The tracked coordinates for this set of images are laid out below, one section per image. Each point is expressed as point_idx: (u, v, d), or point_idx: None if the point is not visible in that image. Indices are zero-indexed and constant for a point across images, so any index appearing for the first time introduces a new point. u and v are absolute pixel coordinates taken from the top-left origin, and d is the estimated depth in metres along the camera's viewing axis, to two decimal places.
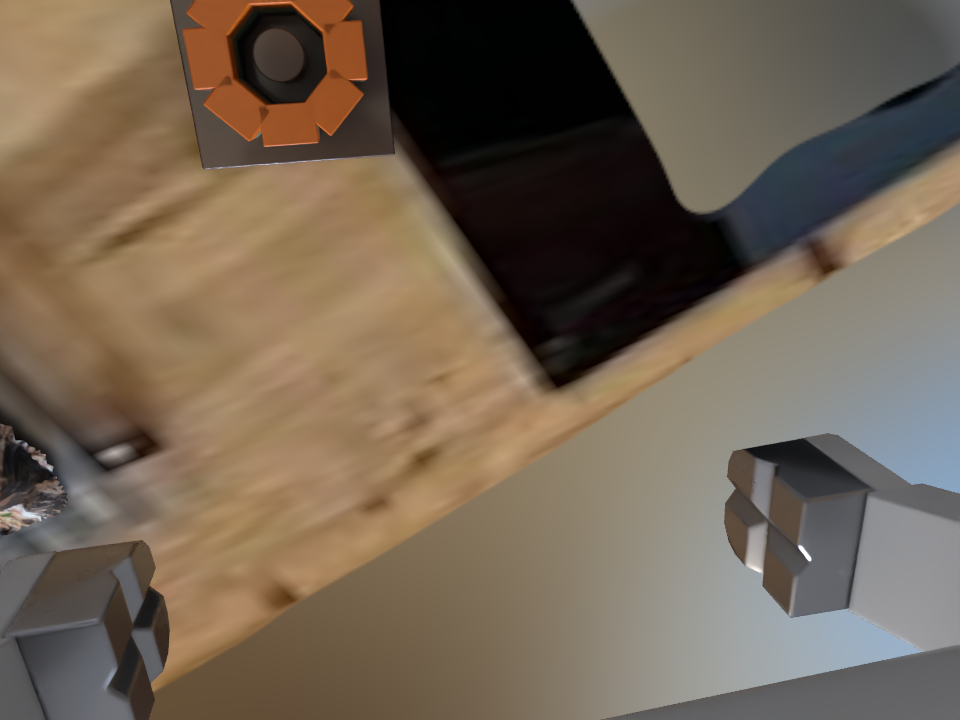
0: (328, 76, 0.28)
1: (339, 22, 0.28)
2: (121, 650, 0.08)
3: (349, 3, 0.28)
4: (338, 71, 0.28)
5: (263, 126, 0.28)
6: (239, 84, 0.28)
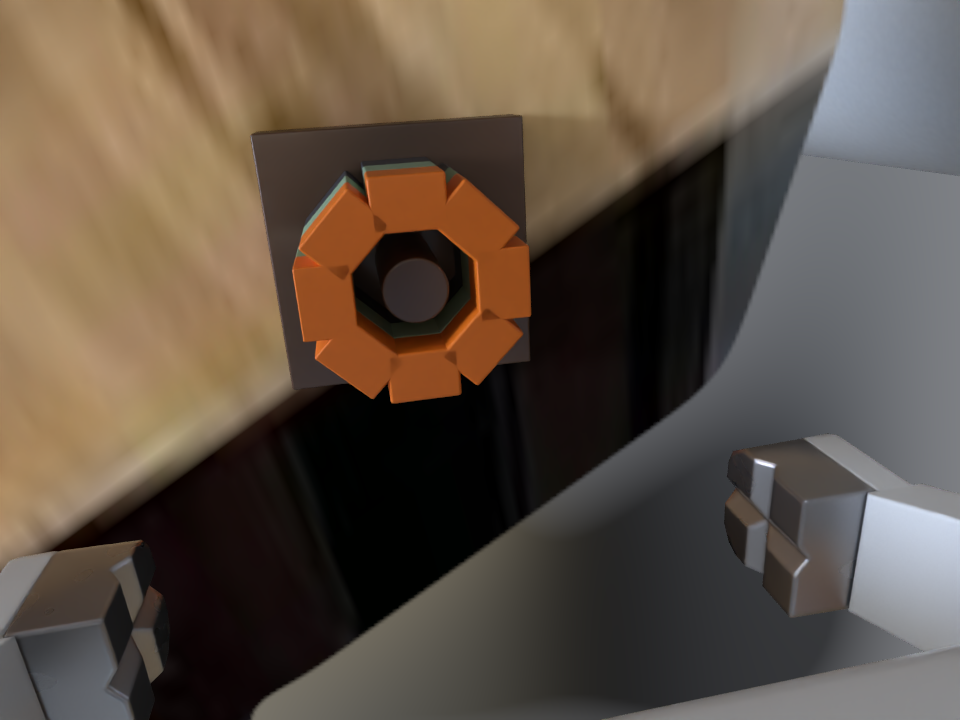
0: (392, 356, 0.21)
1: (458, 369, 0.22)
2: (121, 650, 0.08)
3: (480, 380, 0.22)
4: (400, 368, 0.21)
5: (321, 270, 0.20)
6: (376, 241, 0.20)
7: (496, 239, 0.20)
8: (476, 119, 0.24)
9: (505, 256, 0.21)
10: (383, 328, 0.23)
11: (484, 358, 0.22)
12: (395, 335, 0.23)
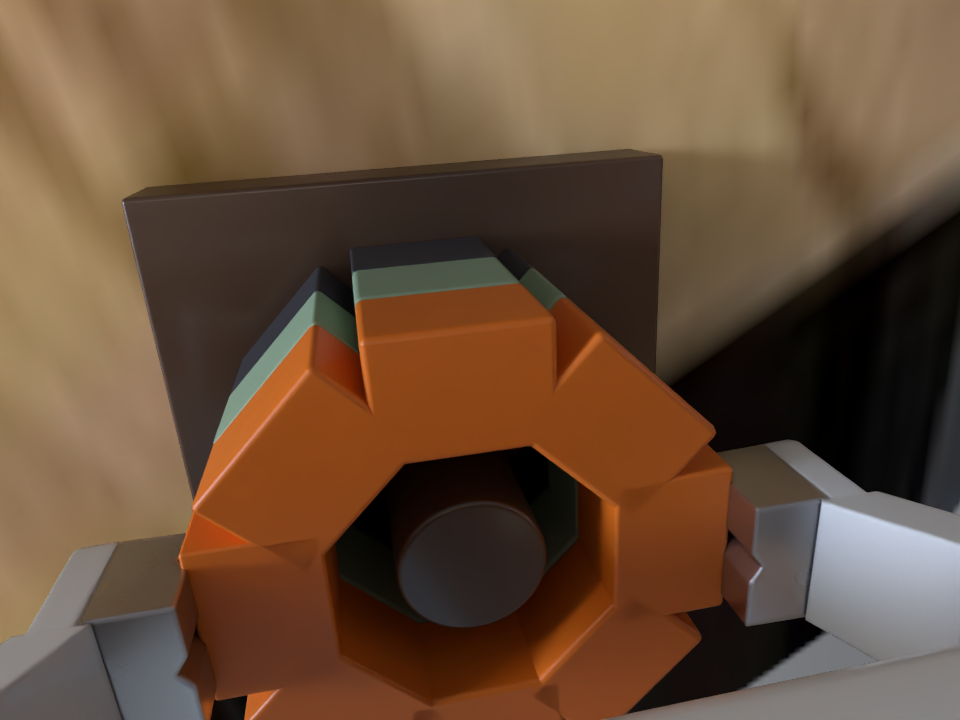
0: (421, 708, 0.09)
1: (561, 715, 0.10)
2: (190, 638, 0.08)
3: None
4: None
5: (250, 554, 0.08)
6: (385, 481, 0.08)
7: (664, 460, 0.09)
8: (576, 163, 0.12)
9: (680, 492, 0.09)
10: (396, 601, 0.11)
11: (617, 690, 0.10)
12: None
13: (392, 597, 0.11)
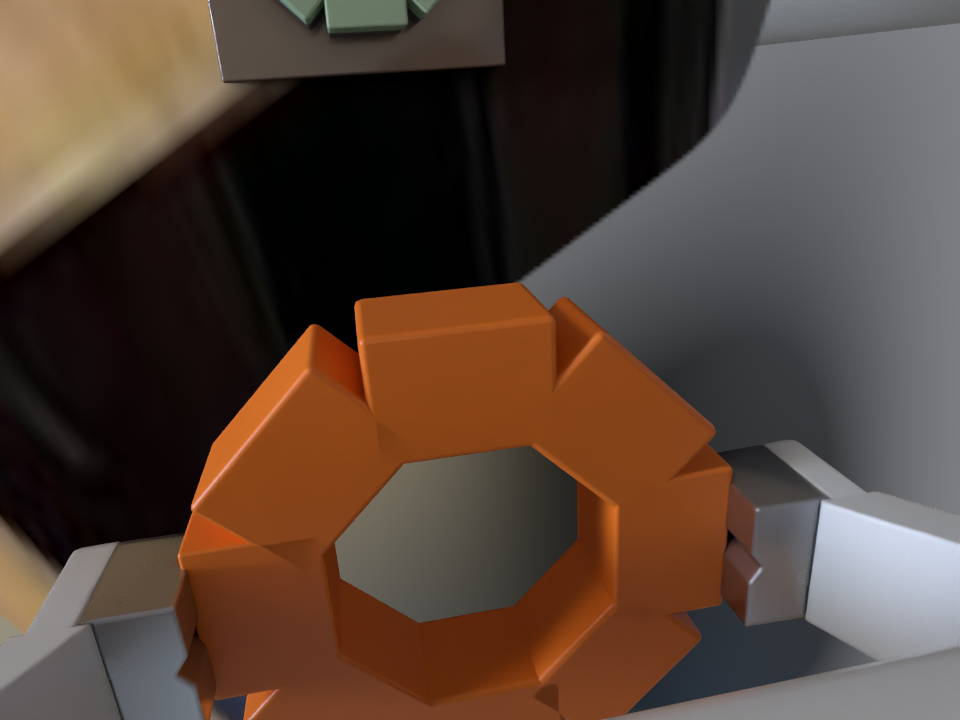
0: (420, 707, 0.09)
1: (560, 715, 0.10)
2: (190, 638, 0.08)
3: None
4: None
5: (249, 553, 0.08)
6: (384, 481, 0.08)
7: (664, 459, 0.09)
8: None
9: (680, 493, 0.09)
10: None
11: (617, 691, 0.10)
12: None
13: None
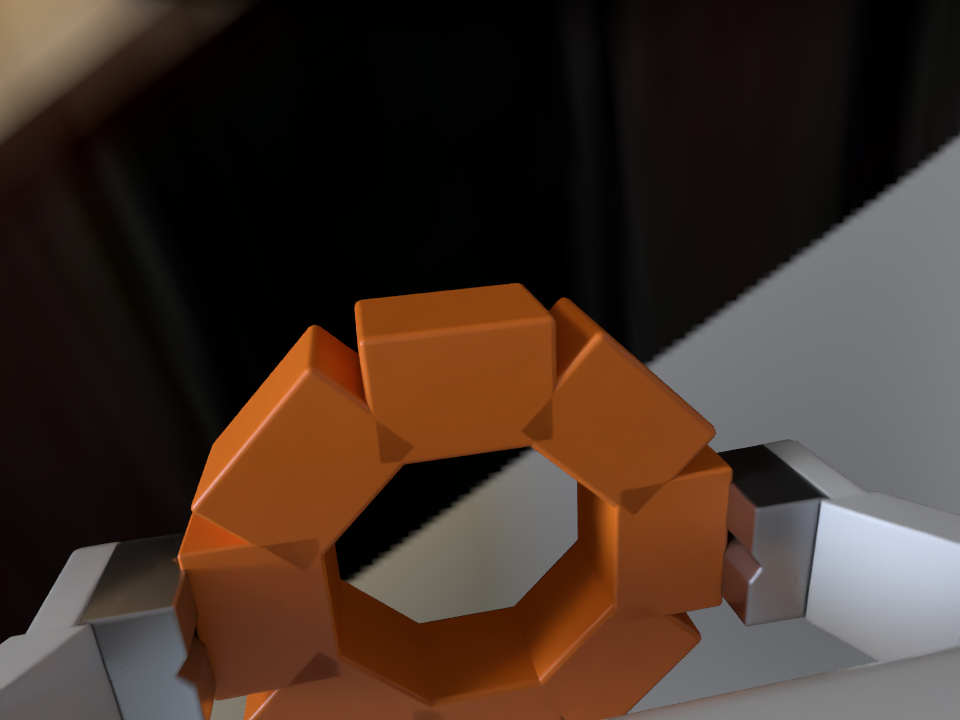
0: (420, 708, 0.09)
1: (560, 715, 0.10)
2: (190, 638, 0.08)
3: None
4: None
5: (249, 554, 0.08)
6: (384, 481, 0.08)
7: (664, 460, 0.09)
8: None
9: (680, 493, 0.09)
10: None
11: (617, 691, 0.10)
12: None
13: None
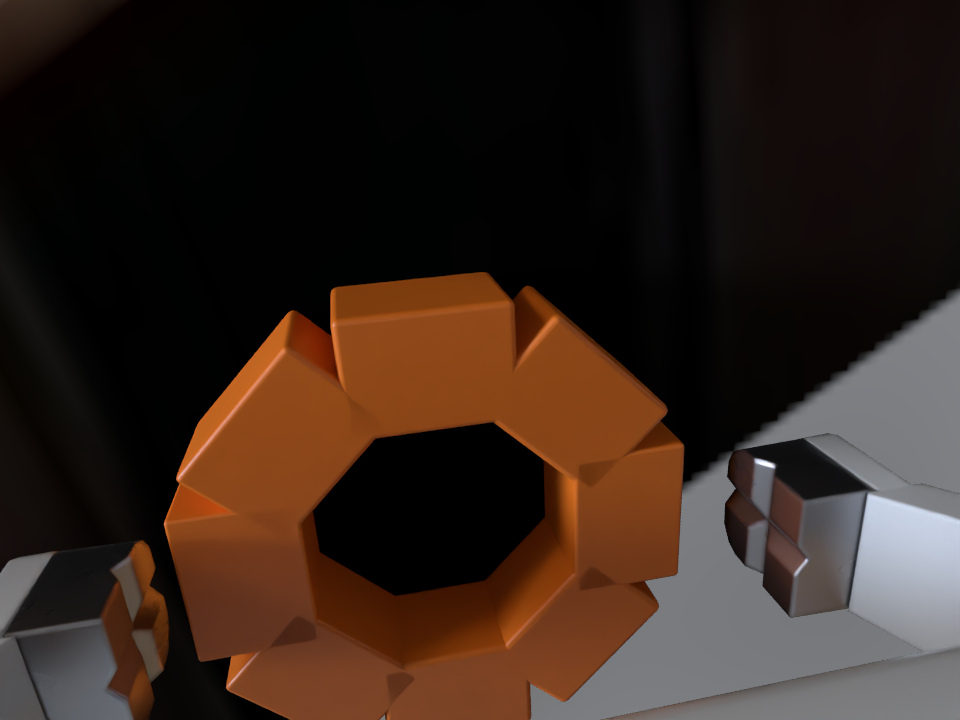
0: (393, 671, 0.10)
1: (527, 679, 0.11)
2: (121, 650, 0.08)
3: (569, 695, 0.11)
4: (408, 689, 0.10)
5: (231, 522, 0.09)
6: (357, 454, 0.09)
7: (619, 436, 0.09)
8: None
9: (635, 468, 0.10)
10: None
11: (580, 657, 0.11)
12: None
13: None
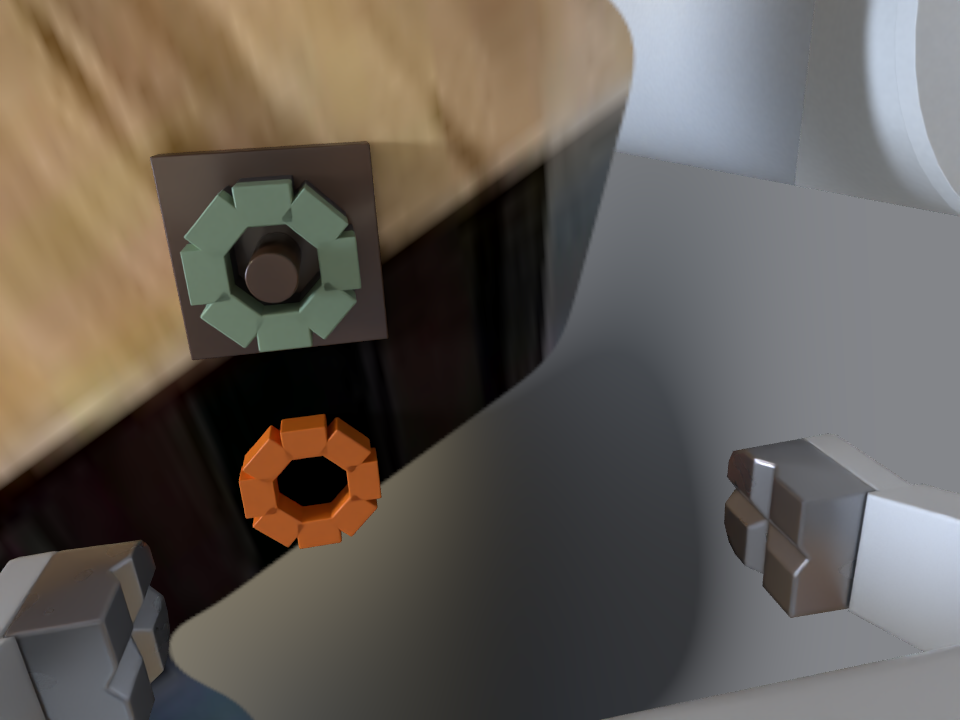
0: (299, 523, 0.36)
1: (338, 528, 0.37)
2: (121, 650, 0.08)
3: (352, 534, 0.37)
4: (303, 529, 0.36)
5: (255, 480, 0.35)
6: (287, 464, 0.35)
7: (357, 459, 0.36)
8: (332, 146, 0.30)
9: (363, 467, 0.36)
10: (253, 308, 0.29)
11: (354, 522, 0.37)
12: (263, 314, 0.29)
13: (252, 307, 0.29)
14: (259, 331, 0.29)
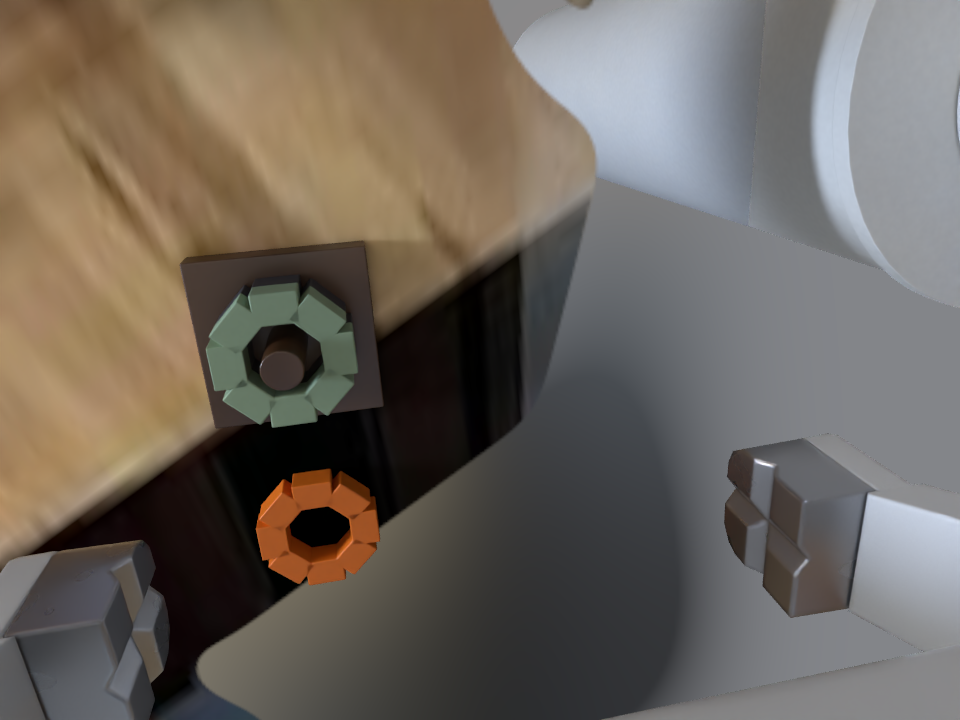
0: (308, 564, 0.41)
1: (343, 567, 0.42)
2: (121, 650, 0.08)
3: (355, 572, 0.42)
4: (312, 568, 0.42)
5: (270, 528, 0.40)
6: (297, 513, 0.40)
7: (358, 508, 0.41)
8: (333, 249, 0.35)
9: (364, 515, 0.41)
10: (267, 391, 0.34)
11: (356, 562, 0.42)
12: (275, 396, 0.34)
13: (266, 390, 0.34)
14: (272, 410, 0.34)
